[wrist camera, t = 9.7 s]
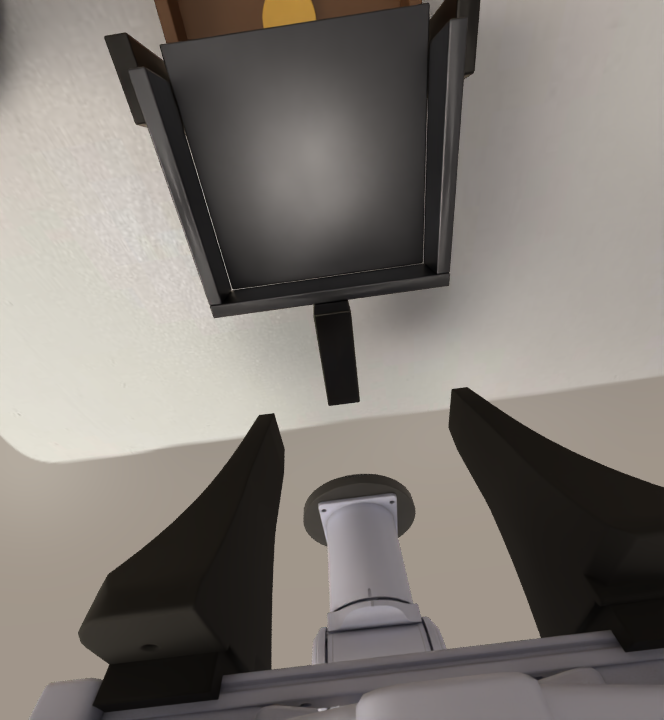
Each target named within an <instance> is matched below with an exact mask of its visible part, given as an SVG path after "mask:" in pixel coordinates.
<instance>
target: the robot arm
mask: <svg viewBox="0 0 664 720" xmlns="http://www.w3.org/2000/svg"><path fill="white" fill-rule="evenodd" d="M449 430H450V432H451V435H452V438H453V440H454V443H455V445H456V447H457V450H458V452H459V454H460V455H461V457H462V459H463V461H464V463H465V465H466V466H467V468H468V470H469V472H470V474H471V475H472V477H473V479H474V481H475V482H476V484H477V486H478V488H479V490H480V491H481V493H482V495H483V496H484V498H485V500H486V502H487V504H488V506H489V508H490V510H491V512H492V515H493V517H494V519H495V521H496V524H497V526H498V528H499V530H500V533H501V535H502V537H503V540H504V542H505V545H506V547H507V549H508V552H509V554H510V557H511V559H512V561H513V564H514V566H515V569H516V572H517V574H518V577H519V579H520V582H521V585H522V587H523V590H524V592H525V595H526V597H527V600H528V603H529V606H530V609H531V611H532V614H533V617H534V620H535V622H536V625H537V628H538V631H539V633H540V636H541V638H537V639H529V640H520V641H512V642H504V643H495V644H486V645H478V646H469V647H461V648H453V649H446V646H445V643H444V640H443V638H442V635H441V633H440V630H439V629H438V627H437V626H436V625H435V624H434V623H433V622H432V621H431V619H430V618H429V617H421V615H420V611H419V607H418V604H417V603H416V604H413V600H412V596H411V591H410V587H409V583H408V579H407V574H406V570H405V566H404V562H403V557H402V553H401V548H400V544H399V540H398V527H397V497H396V494H394V493H387V494H379V495H371V496H363V497H355V498H347V499H339V500H331V501H323V502H320V503H319V504H318V508H319V512H320V516H321V520H322V525H323V529H324V533H325V537H326V541H327V545H328V570H329V595H330V613H328V614H327V623H328V629H327V627H322V628H320V629H319V632H318V634H317V635H316V637H315V638H314V642H313V651H312V652H313V653H312V665H307V666H299V667H291V668H282V669H274V670H271V638H272V637H271V636H272V634H271V633H272V632H271V631H272V629H271V628H272V587H273V562H274V544H275V531H276V523H277V517H278V509H279V503H280V497H281V490H282V483H283V476H284V451H285V449H284V445H283V442H282V439H281V435H280V432H279V428H278V425H277V422H276V418H275V415H274V413H272V414H265V415H259V416H258V417H257V419H256V420H255V422H254V424H253V425H252V427H251V428H250V430H249V432H248V433H247V435H246V436H245V438H244V439H243V441H242V442H241V444H240V445H239V447H238V448H237V450H236V451H235V452H234V454H233V455H232V457H231V458H230V459H229V461H228V462H227V464H226V465H225V466H224V467H223V469H222V470H221V471H220V473H219V474H218V475H217V476H216V477H215V479H214V480H213V481H212V482H211V484H210V485H209V486H208V487H207V488H206V489H205V490H204V491H203V493H202V494H201V495H200V496H199V497H198V498H197V499H196V500H195V501H194V502H193V503H192V504H191V505H190V506H189V507H188V508H187V509H186V510H185V511H184V512H183V513H182V514H181V515H180V516H179V517H178V518H177V519H176V520H175V521H174V522H173V523H172V524H170V525H169V526H168V527H167V528H166V529H165V530H164V531H162V532H161V533H160V534H159V535H158V536H157V537H155V538H154V539H153V540H152V541H151V542H150V543H148V544H147V545H146V546H145V547H143V548H142V549H141V550H140V551H138V552H137V553H136V554H134V555H133V556H132V557H130V558H129V559H128V560H127V561H125V562H124V563H123V564H121V565H120V566H119V567H117V568H116V569H115V570H113V571H112V572H111V573H109V574H108V575H107V577H106V579H105V581H104V583H103V584H102V586H101V588H100V590H99V592H98V594H97V596H96V598H95V600H94V602H93V604H92V606H91V608H90V610H89V611H88V613H87V615H86V617H85V619H84V621H83V623H82V626H81V627H80V630H79V632H78V635H79V638H80V641H81V643H82V644H83V645H84V646H85V647H86V648H87V649H89V650H91V651H92V652H93V653H94V654H96V655H97V656H99V657H100V658H102V659H103V660H104V661H106V662H107V663H108V664H110V665H109V667H108V669H107V672H106V674H105V677H104V679H103V680H101V679H96V678H85V679H76V680H68V681H60V682H51V683H49V684H48V685H47V686H46V687H45V689H44V691H43V692H42V694H41V696H40V698H39V700H38V702H37V704H36V706H35V708H34V710H33V711H32V714H31V715H30V717H29V719H28V720H664V487H661V486H658V485H655V484H651V483H649V482H646V481H643V480H640V479H638V478H635V477H632V476H630V475H627V474H624V473H621V472H619V471H617V470H614V469H612V468H609V467H607V466H604V465H602V464H600V463H597V462H595V461H593V460H590V459H588V458H586V457H584V456H581V455H579V454H577V453H575V452H572V451H571V450H569V449H567V448H565V447H563V446H561V445H559V444H557V443H555V442H553V441H551V440H549V439H547V438H545V437H544V436H542V435H540V434H538V433H536V432H535V431H533V430H531V429H530V428H528V427H526V426H524V425H523V424H521V423H519V422H518V421H516V420H515V419H513V418H512V417H510V416H509V415H507V414H506V413H504V412H503V411H501V410H500V409H498V408H497V407H495V406H494V405H492V404H491V403H489V402H488V401H486V400H485V399H484V398H482V397H481V396H479V395H478V394H476V393H475V392H474V391H472V390H471V389H469V388H468V387H464V388H457V389H452V391H451V403H450V415H449Z"/></svg>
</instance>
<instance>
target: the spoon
mask: <svg viewBox="0 0 664 720" xmlns="http://www.w3.org/2000/svg"><path fill="white" fill-rule="evenodd" d="M262 20H263V27H264V28H269V27H276V26H282V25H289V24H295V23H302V22H308V21H314V20H316V13H315V9H314V6H313V3H312V1H311V0H265V3H264V6H263V14H262Z"/></svg>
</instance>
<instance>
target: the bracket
mask: <svg viewBox="0 0 664 720" xmlns="http://www.w3.org/2000/svg"><path fill="white" fill-rule="evenodd" d="M479 11H480V0H444V2H443V3H442V4H441V6H440V7H439V8H438V10H437V11H436V12H435V14H434V15H433V16H432V18H431V19H430V20H429V46H428V84H427V99H428V88H429V51H430V41H431V40H432V39H433V38H434V37H435V36H436V35H437V33H438V32H439V31H440V30H441V29H442V28H443V27H444V26H445V25H446V24H447V22H448V21H449V20H450V19H454V18H460V17H468V27H467V40H466V54H465V68H464V79H465V78H467V77H469V76H470V75H472V74H473V73H474V71H475V59H476V47H477V35H478V23H479ZM104 38H105V41H106V44H107V47H108V49H109V52H110V55H111V58H112V60H113V63H114V66H115V69H116V71H117V74H118V77H119V80H120V82H121V85H122V88H123V91H124V94H125V96H126V99H127V102H128V105H129V107H130V110H131V113H132V116H133V118H134V121H135V123H136V125H140V126H143V127H147V124H146V122H145V119H144V116H143V113H142V110H141V107H140V104H139V102H138V99H137V96H136V93H135V90H134V87H133V84H132V81H131V79H130V76H129V73H128V69H130V68H137V67H146V68H148V69H149V70H151V71H152V72H154V73H155V74H157V75H159V76H160V77H162V78H163V79H165V80H167V81H168V82H169V83H170V86H171V82H170V79H169V76H168V72H167V69H166V66H165V62H164V61H163V60H162V59H161V58H159V57H158V56H157V55H155V54H154V53H153V52H151V51H150V50H149V49H147V48H146V47H145V46H143V45H142V44H141V43H139V42H138V41H137V40H135V39H134V38H133V37H131V36H130V35H129V34H127V33H120V34H113V35H107V36H104ZM171 90H172V93H173V96H174V92H173V89H172V86H171ZM174 100H175V103H176V106H177V102H176V99H175V96H174ZM177 110H178V113H179V116H180V112H179V109H178V106H177ZM180 120H181V123H182V126H183V122H182V119H181V116H180ZM147 128H148V127H147ZM183 130H184V133H185V135H186V132H185V129H184V126H183Z"/></svg>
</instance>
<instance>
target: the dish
mask: <svg viewBox="0 0 664 720" xmlns="http://www.w3.org/2000/svg"><path fill="white" fill-rule="evenodd" d="M429 8H430V5H429V3H423V4H417V5H411V6H404V7H398V8H391V9H385V10H379V11H372V12H366V13H359V14H353V15H346V16H340V17H334V18H327V19H321V20H314V21H308V22H302V23H295V24H289V25H282V26H276V27H269V28H263V29H257V30H250V31H244V32H237V33H231V34H225V35H218V36H212V37H205V38H199V39H193V40H186V41H180V42H173V43H167V44H161V45H160V49H161V52H162V56H163V59H164V62H165V66H166V69H167V72H168V76H169V79H170V82H171V86H172V89H173V92H174V96H175V99H176V102H177V106H178V109H179V112H180V116H181V119H182V122H183V126H184V129H185V132H186V136H187V139H188V143H189V146H190V149H191V153H192V156H193V159H194V163H195V166H196V169H197V173H198V176H199V179H200V183H201V186H202V189H203V193H204V196H205V199H206V203H207V206H208V209H209V213H210V216H211V219H212V222H211V219H210V216H209V213H208V209H207V206H206V203H205V199H204V196H203V193H202V189H201V186H200V183H199V179H198V176H197V173H196V169H195V166H194V163H193V159H192V156H191V153H190V149H189V146H188V143H187V139H186V136H185V133H184V130H183V126H182V123H181V120H180V116H179V113H178V110H177V106H176V103H175V100H174V96H173V93H172V90H171V86H170V83H169V82H168V81H167V80H165V79H163V78H162V77H160V76H159V75H157V74H155V73H154V72H152V71H151V70H149V69H148V68H146V67H137V68H130V69H128V73H129V76H130V79H131V81H132V84H133V87H134V90H135V93H136V96H137V99H138V102H139V104H140V107H141V110H142V113H143V116H144V119H145V122H146V124H147V127H148V130H149V133H150V136H151V139H152V142H153V145H154V147H155V150H156V153H157V156H158V159H159V162H160V165H161V167H162V170H163V173H164V176H165V179H166V182H167V185H168V188H169V190H170V193H171V196H172V199H173V202H174V205H175V208H176V211H177V213H178V216H179V219H180V222H181V225H182V228H183V231H184V233H185V236H186V239H187V242H188V245H189V248H190V251H191V254H192V256H193V259H194V262H195V265H196V268H197V271H198V274H199V276H200V279H201V282H202V285H203V288H204V291H205V294H206V297H207V299H208V302H209V305H211V306H210V309H211V311H212V314H213V317H214V318H219V317H226V316H233V315H241V314H248V313H255V312H262V311H269V310H277V309H284V308H291V307H298V306H306V305H313V316H314V322H315V328H316V334H317V340H318V346H319V352H320V358H321V364H322V370H323V376H324V382H325V388H326V394H327V399H328V405H329V406H333V405H340V404H348V403H356V402H359V401H360V397H359V387H358V377H357V367H356V357H355V347H354V337H353V327H352V317H351V310H350V306H349V302H348V300H349V299H356V298H364V297H371V296H378V295H385V294H393V293H400V292H407V291H414V290H422V289H429V288H436V287H443V286H449V280H450V273H449V272H450V263H451V250H452V236H453V222H454V208H455V194H456V180H457V166H458V152H459V138H460V124H461V110H462V96H463V82H464V68H465V54H466V40H467V27H468V17H460V18H454V19H450V20H449V21H448V22H447V24H446V25H445V26H444V27H443V28H442V29H441V30H440V31H439V32H438V33H437V35H436V36H435V37H434V38H433V39H432V40H431V41H430V51H429V88H428V124H427V160H426V122H427V84H428V46H429ZM425 160H426V196H425ZM424 199H425V233H424ZM212 223H213V226H214V229H215V232H214V229H213V226H212ZM215 233H216V236H217V239H218V242H217V239H216V236H215ZM423 237H424V264H420V263H423ZM218 243H219V246H220V249H221V252H220V249H219V246H218ZM221 253H222V256H223V259H224V262H223V259H222V256H221ZM224 263H225V266H226V269H227V272H226V269H225V266H224ZM413 264H417V265H413ZM405 265H410V266H405ZM398 266H403V267H398ZM391 267H396V268H391ZM384 268H389V269H384ZM377 269H382V270H377ZM370 270H375V271H370ZM362 271H367V272H362ZM355 272H360V273H355ZM227 273H228V276H229V279H230V282H229V279H228V276H227ZM348 273H353V274H348ZM341 274H346V275H341ZM334 275H339V276H334ZM327 276H332V277H327ZM320 277H324V278H320ZM312 278H317V279H312ZM305 279H310V280H305ZM298 280H303V281H298ZM291 281H296V282H291ZM284 282H289V283H284ZM230 283H231V286H232V289H239V290H232V289H231V286H230ZM277 283H281V284H277ZM269 284H274V285H269ZM262 285H267V286H262ZM255 286H260V287H255ZM248 287H253V288H248ZM241 288H246V289H241Z"/></svg>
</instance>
